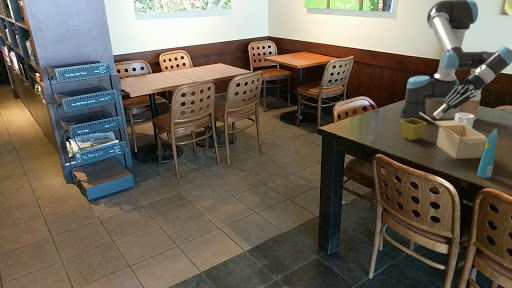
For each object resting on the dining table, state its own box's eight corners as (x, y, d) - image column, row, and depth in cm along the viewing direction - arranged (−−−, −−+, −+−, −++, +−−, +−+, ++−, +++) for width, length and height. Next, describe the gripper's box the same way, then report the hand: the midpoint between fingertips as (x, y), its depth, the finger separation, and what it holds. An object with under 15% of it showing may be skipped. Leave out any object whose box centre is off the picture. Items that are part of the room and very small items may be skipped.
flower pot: (411, 142, 185) (414, 125, 181) (398, 137, 192) (400, 120, 188) (424, 139, 188) (427, 122, 185) (410, 134, 196) (412, 117, 192)
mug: (451, 129, 201) (455, 112, 197) (469, 131, 197) (473, 113, 194) (453, 137, 190) (456, 118, 187) (472, 139, 187) (476, 120, 184)
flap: (441, 127, 174) (419, 113, 171) (442, 126, 174) (420, 112, 171) (453, 135, 165) (430, 120, 162) (454, 134, 165) (431, 119, 161)
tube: (479, 170, 155) (489, 127, 148) (492, 174, 152) (503, 129, 145) (474, 177, 150) (485, 132, 143) (488, 181, 147) (499, 135, 140)
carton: (430, 140, 187) (433, 121, 183) (453, 139, 187) (457, 120, 184) (463, 165, 161) (467, 142, 157) (489, 163, 161) (495, 141, 157)
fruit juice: (460, 120, 213) (469, 71, 203) (455, 115, 222) (464, 68, 211) (478, 121, 212) (489, 71, 201) (472, 116, 220) (482, 68, 210)
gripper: (466, 69, 166) (423, 107, 172) (484, 75, 154) (437, 115, 160) (475, 80, 168) (433, 117, 174) (494, 87, 156) (447, 127, 162)
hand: (435, 116), depth 167 cm, fingers closed
